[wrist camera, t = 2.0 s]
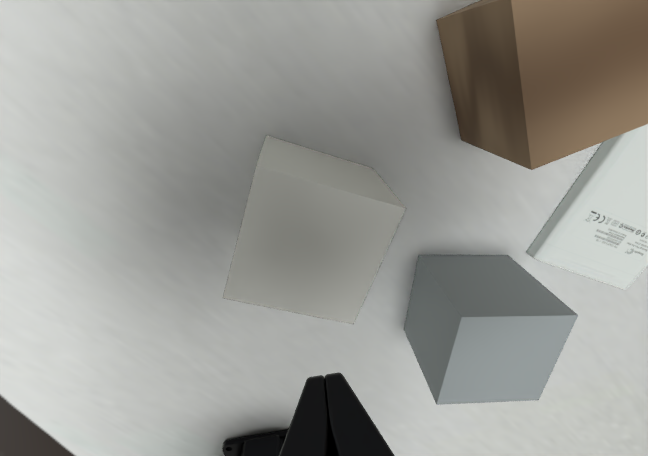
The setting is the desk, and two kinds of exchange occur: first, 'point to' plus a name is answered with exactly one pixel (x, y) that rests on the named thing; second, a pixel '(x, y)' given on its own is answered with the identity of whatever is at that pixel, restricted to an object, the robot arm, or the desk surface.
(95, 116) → the desk surface
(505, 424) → the desk surface
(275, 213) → the off-white cube
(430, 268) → the slate-grey block
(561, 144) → the walnut block
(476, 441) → the desk surface
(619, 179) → the external hard drive
